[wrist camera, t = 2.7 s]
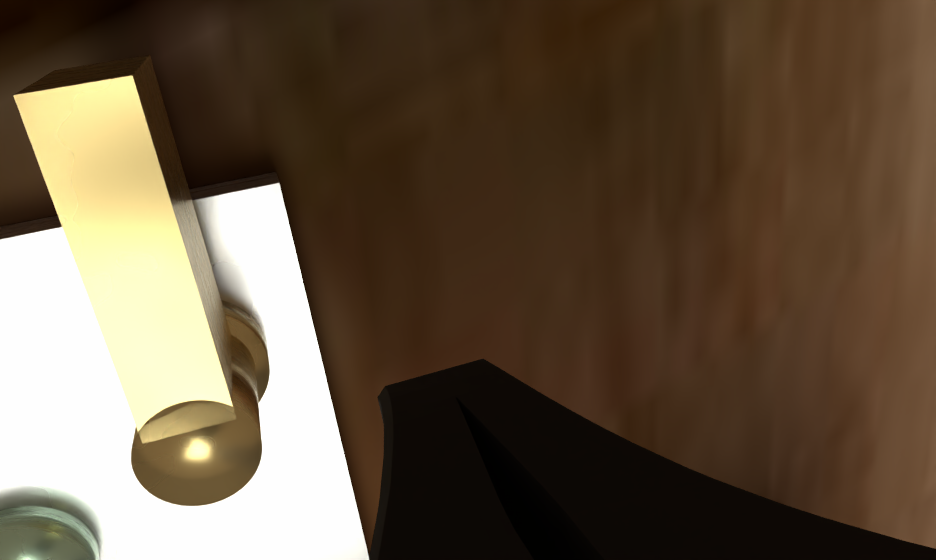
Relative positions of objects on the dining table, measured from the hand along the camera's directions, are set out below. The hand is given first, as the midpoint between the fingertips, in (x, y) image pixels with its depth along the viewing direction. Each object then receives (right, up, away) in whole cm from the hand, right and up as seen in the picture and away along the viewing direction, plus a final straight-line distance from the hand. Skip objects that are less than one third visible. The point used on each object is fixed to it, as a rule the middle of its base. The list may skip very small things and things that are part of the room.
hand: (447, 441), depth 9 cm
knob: (-6, +3, +7) cm, 9 cm away
